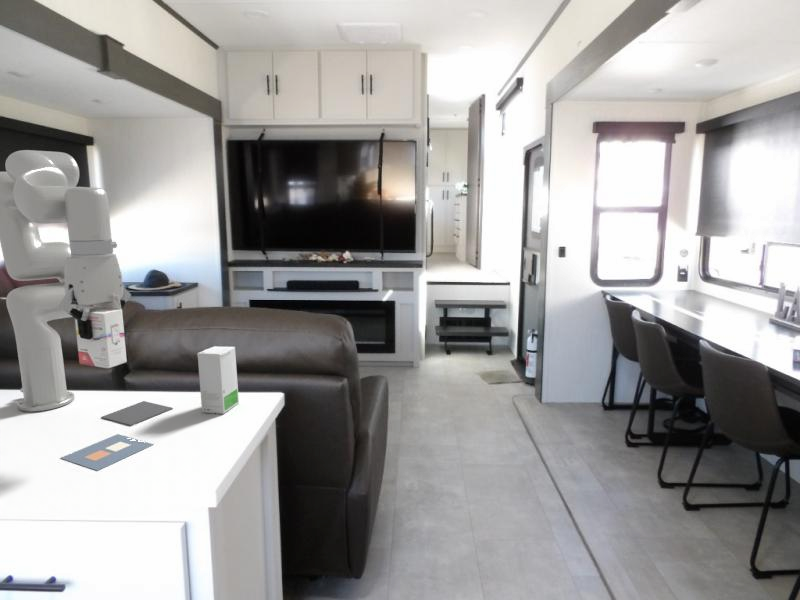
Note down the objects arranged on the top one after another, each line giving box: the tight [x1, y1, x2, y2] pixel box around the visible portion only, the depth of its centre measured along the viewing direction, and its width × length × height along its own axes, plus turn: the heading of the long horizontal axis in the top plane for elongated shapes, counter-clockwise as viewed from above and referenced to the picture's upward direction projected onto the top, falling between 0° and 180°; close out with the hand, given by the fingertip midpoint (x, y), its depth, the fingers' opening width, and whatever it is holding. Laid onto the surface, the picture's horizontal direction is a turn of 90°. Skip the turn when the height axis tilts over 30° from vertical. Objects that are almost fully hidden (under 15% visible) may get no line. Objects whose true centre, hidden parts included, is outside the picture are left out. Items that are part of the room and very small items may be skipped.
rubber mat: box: [100, 400, 174, 427], centre depth 134 cm, size 11×12×1 cm
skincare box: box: [196, 346, 240, 415], centre depth 136 cm, size 8×7×16 cm
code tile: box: [60, 433, 154, 472], centre depth 113 cm, size 12×13×1 cm
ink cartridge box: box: [74, 295, 128, 369], centre depth 112 cm, size 9×5×15 cm, turn 70°
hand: (100, 334), depth 112 cm, fingers closed on ink cartridge box, 5 cm apart
